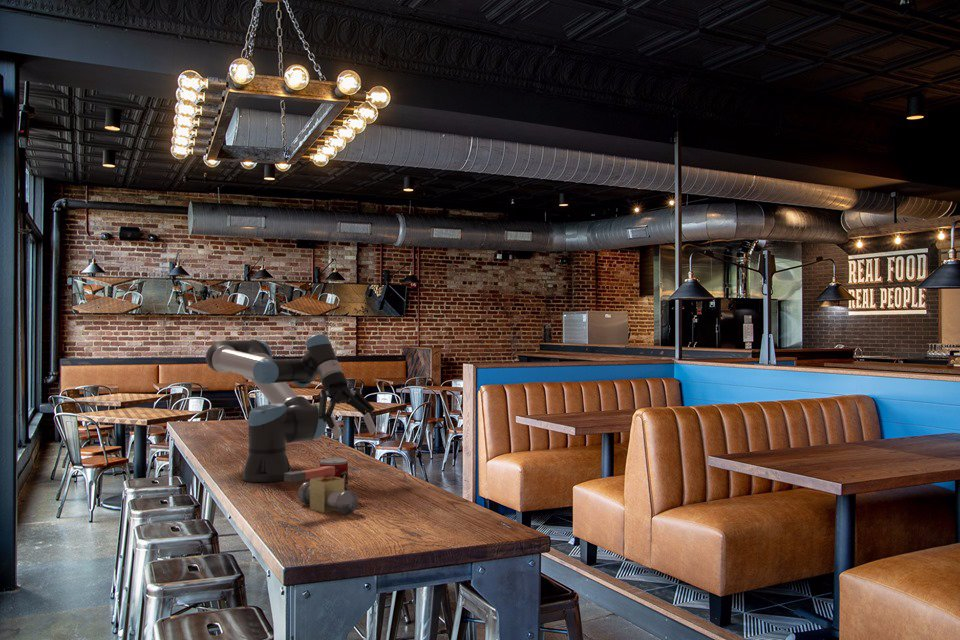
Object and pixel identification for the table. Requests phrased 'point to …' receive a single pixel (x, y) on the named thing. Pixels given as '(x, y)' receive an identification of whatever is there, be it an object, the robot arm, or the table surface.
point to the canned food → (338, 468)
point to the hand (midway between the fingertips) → (356, 434)
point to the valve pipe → (328, 495)
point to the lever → (309, 474)
